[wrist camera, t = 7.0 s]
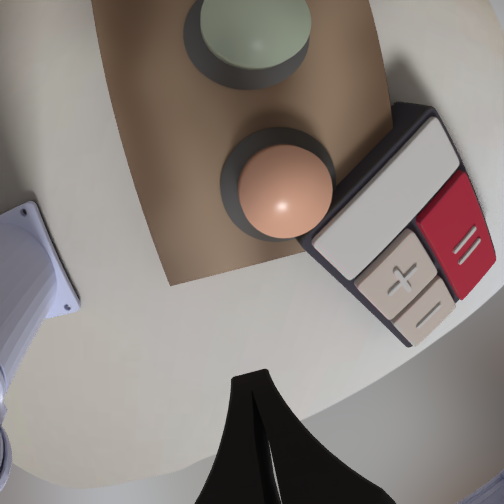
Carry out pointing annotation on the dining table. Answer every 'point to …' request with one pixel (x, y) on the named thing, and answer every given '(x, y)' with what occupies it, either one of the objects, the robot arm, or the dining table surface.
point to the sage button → (255, 30)
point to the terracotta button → (284, 190)
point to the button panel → (232, 120)
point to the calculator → (406, 227)
